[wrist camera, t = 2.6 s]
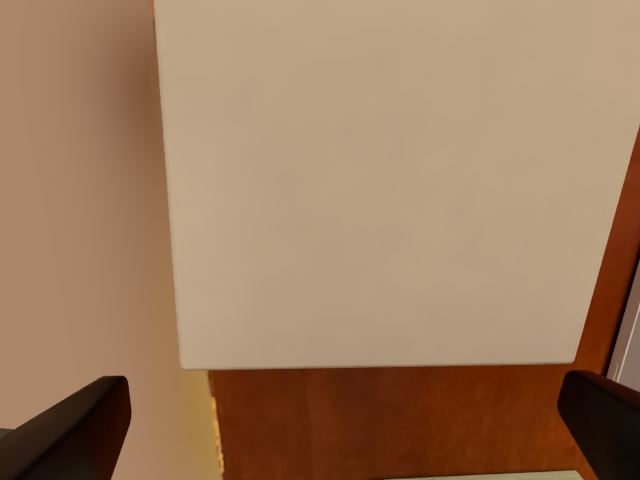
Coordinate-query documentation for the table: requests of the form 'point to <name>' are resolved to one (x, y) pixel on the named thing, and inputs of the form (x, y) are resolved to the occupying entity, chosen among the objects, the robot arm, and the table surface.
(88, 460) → the robot arm
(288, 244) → the white book
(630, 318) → the smartphone
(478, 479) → the tray
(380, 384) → the table surface
